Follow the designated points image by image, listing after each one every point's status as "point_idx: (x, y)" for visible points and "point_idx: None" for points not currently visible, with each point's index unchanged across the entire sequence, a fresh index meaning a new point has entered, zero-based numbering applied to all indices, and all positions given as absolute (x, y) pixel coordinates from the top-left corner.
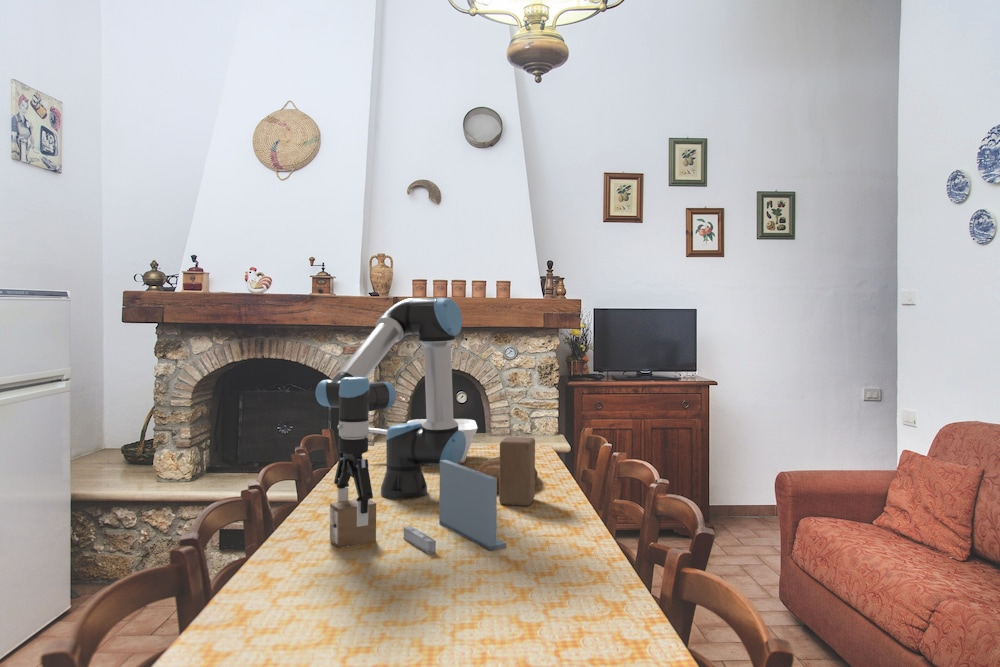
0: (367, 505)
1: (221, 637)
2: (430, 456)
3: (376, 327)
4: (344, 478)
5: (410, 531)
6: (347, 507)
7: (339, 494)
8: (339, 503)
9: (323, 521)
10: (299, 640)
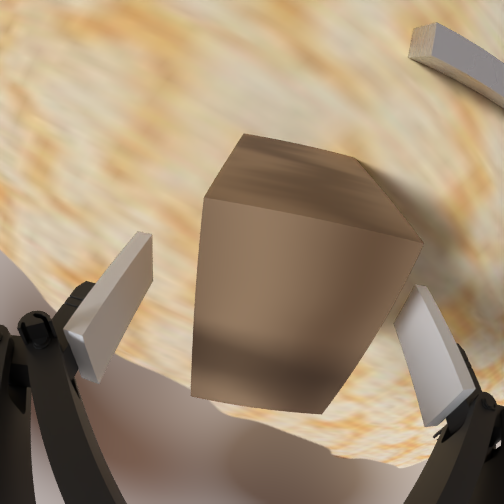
0: (473, 375)
1: (420, 453)
2: None
3: None
4: (101, 459)
5: (488, 87)
6: (332, 390)
7: (111, 353)
8: (228, 382)
9: (23, 188)
10: None
